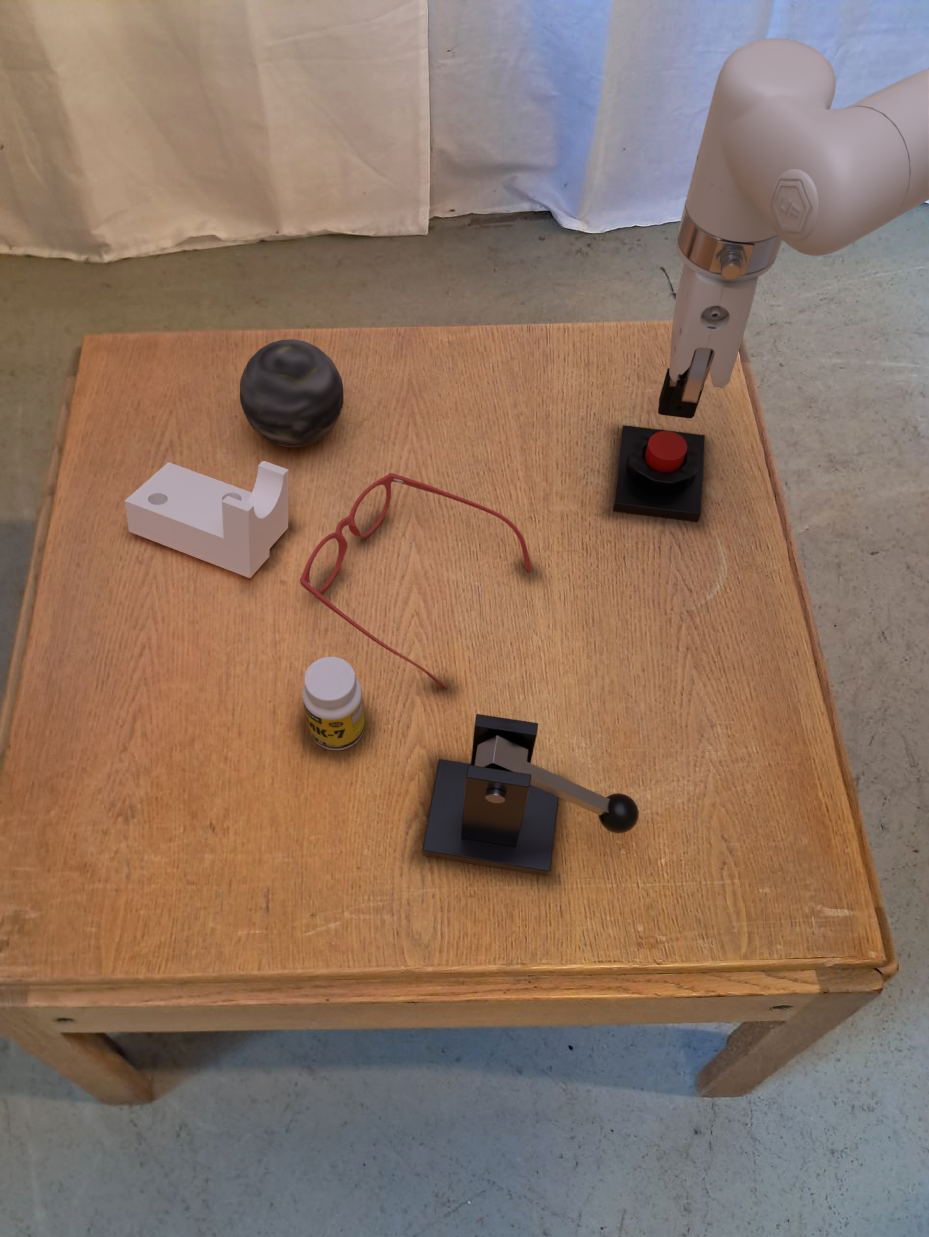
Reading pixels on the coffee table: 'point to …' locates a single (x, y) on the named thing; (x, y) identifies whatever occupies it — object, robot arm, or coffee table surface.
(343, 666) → the supplement bottle
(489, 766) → the lever
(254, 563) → the bracket
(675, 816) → the coffee table surface
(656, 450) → the button
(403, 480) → the red eyeglasses
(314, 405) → the decorative stone
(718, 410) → the coffee table surface
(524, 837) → the bracket
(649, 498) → the control block
